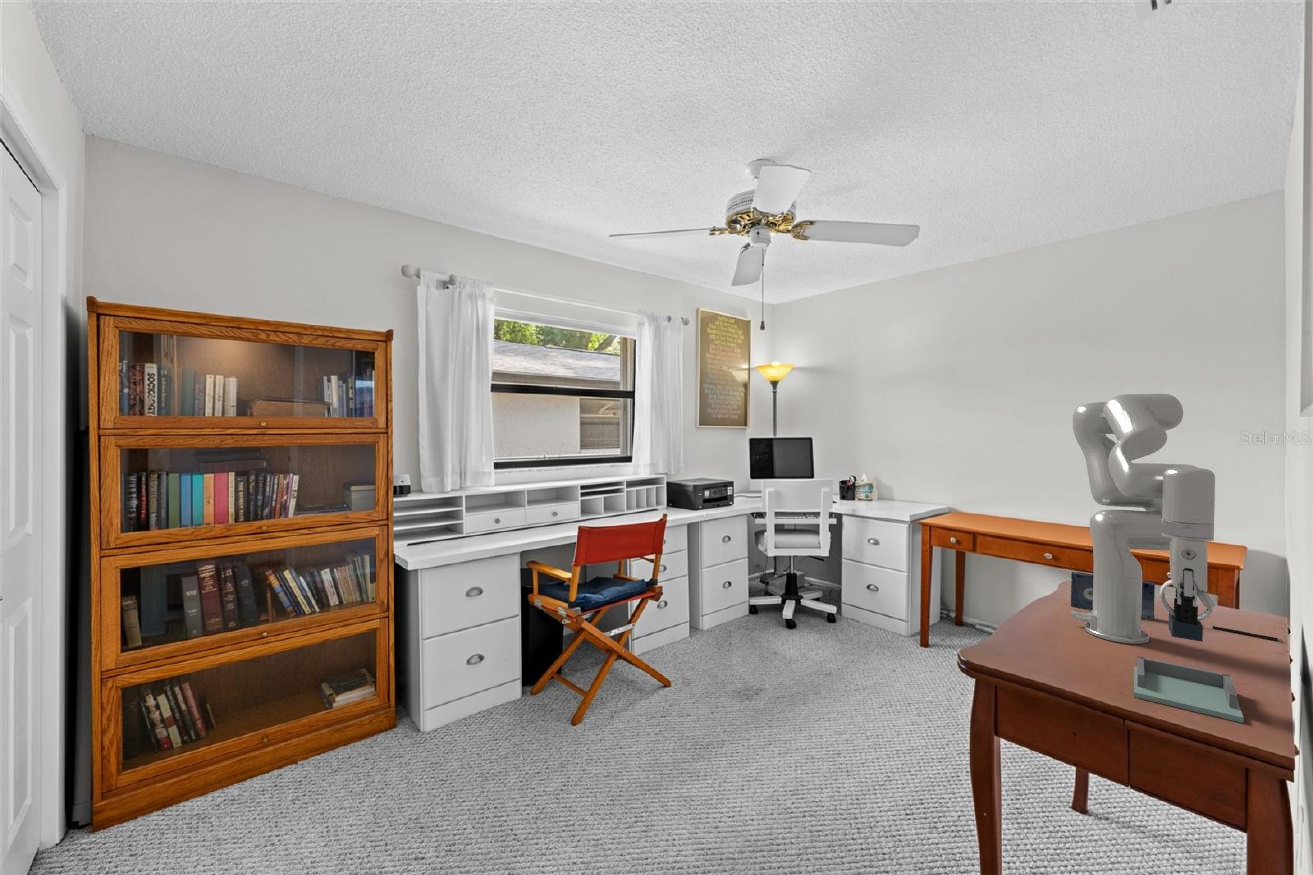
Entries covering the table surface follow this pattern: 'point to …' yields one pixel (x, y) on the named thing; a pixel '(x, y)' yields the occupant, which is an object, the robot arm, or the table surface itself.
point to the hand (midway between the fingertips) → (1185, 621)
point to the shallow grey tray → (1187, 688)
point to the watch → (1184, 628)
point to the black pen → (1248, 634)
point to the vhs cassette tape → (1084, 594)
